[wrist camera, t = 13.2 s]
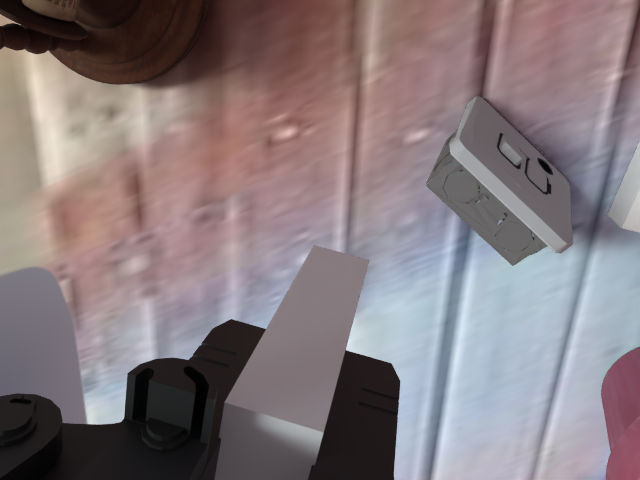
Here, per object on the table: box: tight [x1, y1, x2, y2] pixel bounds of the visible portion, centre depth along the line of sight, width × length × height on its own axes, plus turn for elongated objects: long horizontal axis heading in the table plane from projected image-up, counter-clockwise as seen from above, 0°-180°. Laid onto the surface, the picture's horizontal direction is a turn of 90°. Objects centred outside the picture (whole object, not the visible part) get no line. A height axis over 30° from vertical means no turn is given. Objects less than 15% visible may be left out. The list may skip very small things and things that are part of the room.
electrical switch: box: [426, 96, 573, 266], centre depth 33 cm, size 9×5×9 cm, turn 49°
